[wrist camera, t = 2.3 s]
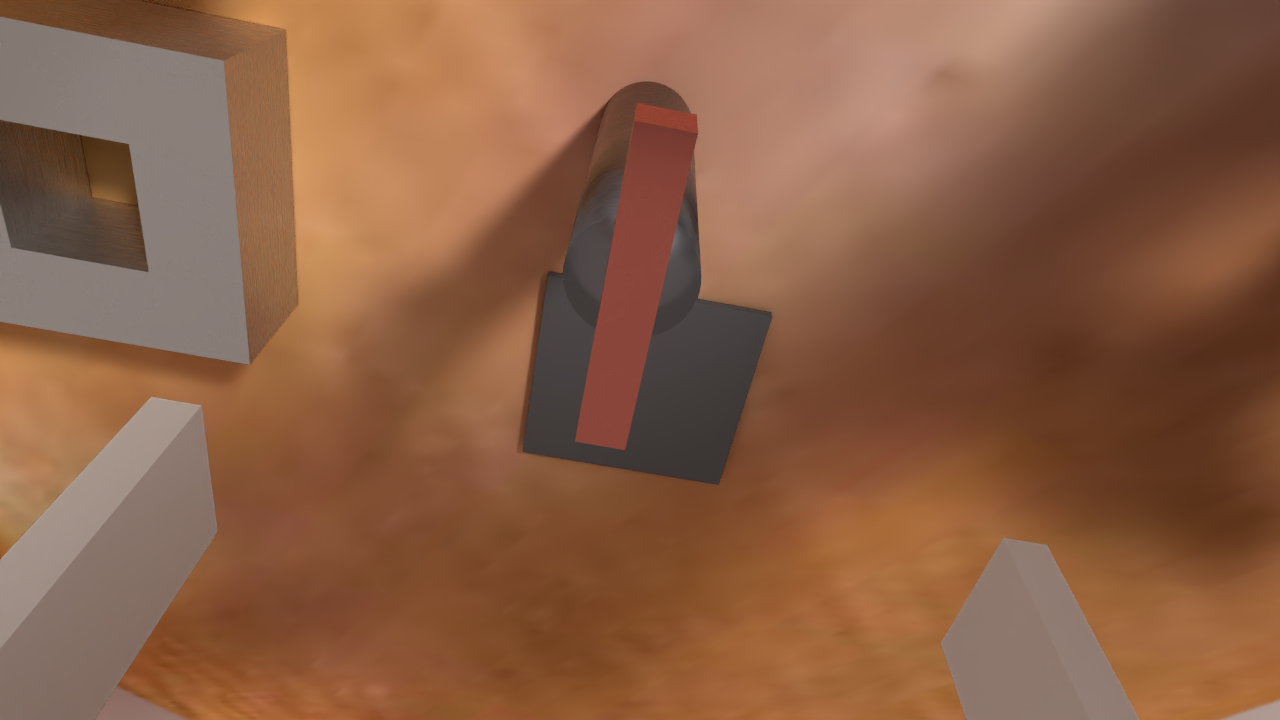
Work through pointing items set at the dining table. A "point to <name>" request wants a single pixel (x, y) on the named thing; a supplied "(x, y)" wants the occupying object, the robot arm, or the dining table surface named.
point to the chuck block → (146, 176)
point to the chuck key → (633, 249)
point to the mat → (650, 389)
